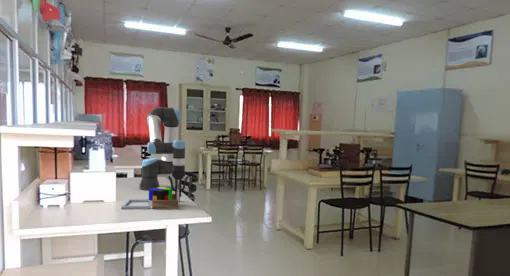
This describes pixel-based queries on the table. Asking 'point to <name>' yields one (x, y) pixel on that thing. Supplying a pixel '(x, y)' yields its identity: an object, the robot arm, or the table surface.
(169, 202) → the channel
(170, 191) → the puzzle toy
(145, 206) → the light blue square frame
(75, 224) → the table surface
